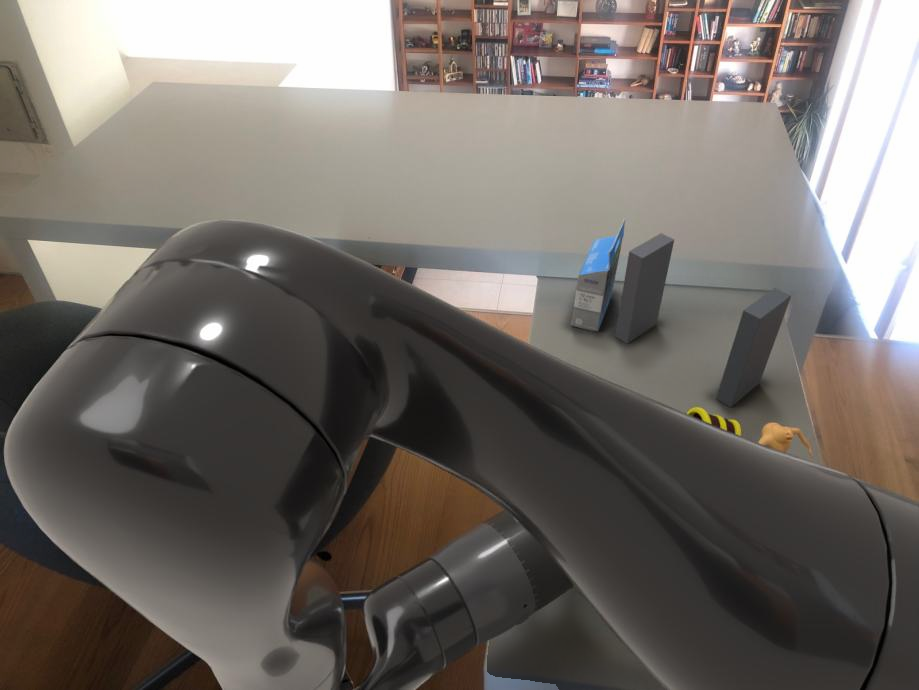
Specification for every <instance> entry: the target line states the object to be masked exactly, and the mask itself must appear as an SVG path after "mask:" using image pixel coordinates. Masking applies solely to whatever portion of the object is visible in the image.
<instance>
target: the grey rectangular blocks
mask: <svg viewBox="0 0 919 690" xmlns="http://www.w3.org/2000/svg"><path fill="white" fill-rule="evenodd" d="M674 243H675V239H674V238H672V237H670V236H668V235H666V234H664V233H661V232H660V233H659V234H657V235H655V236H654V237H652V238H650V239H648V240H647V241H644V242H643V243H642V244H640V245H638V246H636V247H634V248H632V249H630V250H629V251H628V255H627V263H626V268H625V273H624V280H623V286H622V293H621V299H620V304H619V311H618V316H617V317H618V318H617V323H616V330H615V334H614V335H615V338H617V339H619V340H620V341H622V342H623V343H625V344H629V343H631V342H632V341H633V340H635V339H637V338H639V337H640V336H641V335H643V334H644V333H646V332H647V331H649V330H650V329H651V328H653V327H655V326H656V325H657V324H658V319H659V315H660V310H661V304H662V300H663V295H664V292H665V291H664V290H665V286H666V280H667V276H668V272H669V266H670V264H671V263H670V262H671V257H672V253H673V249H674ZM791 298H792V295H791V294H789V293H787V292H785V291H783V290H780V289H779V288H776V287H773V288H772V289H770V290H769V291H768V292H766V293H765V294H764V295H762V296H761V297H760V298H758V299H757V300H755V301H754V302H753V303H750V305H748V306H747V307H745V308H744V309H743V311H742V314H741V317H740V320H739V323H738V326H737V330H736V333H735V336H734V340H733V342H732V346H731V349H730V351H729V355H728V359H727V361H726V365H725V368H724V371H723V375H722V377H721V380H720V384H719V388H718V390H717V393H716V396H715V399H716V400H718V401H719V402H721V403H722V404H724V405H725V406H727V407H729V408H732V407H733V406H735V405H736V404H737V403H738V402H740V400H741V399H743V398H744V397H746V396H747V395H748V394H749V393H750V392H751V391H752V390H754V389H755V388H756V387H757V386H759V385H760V383H761V381H762V378H763V375H764V372H765V369H766V367H767V365H768V361H769V359H770V356H771V353H772V350H773V348H774V346H775V342H776V339H777V336H778V334H779V331H780V328H781V326H782V323H783V320H784V318H785V315H786V311H787V309H788V306H789V304H790V301H791Z"/></svg>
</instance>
